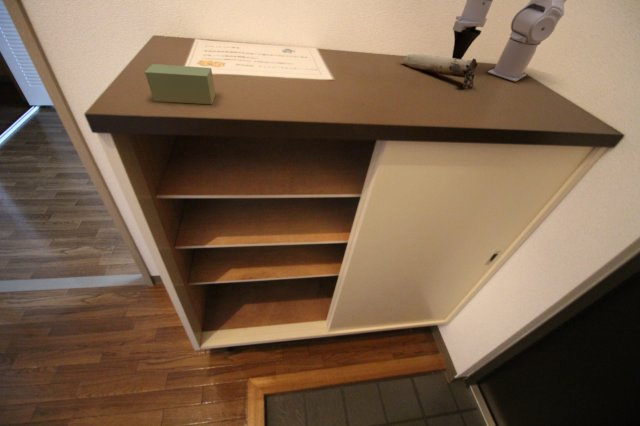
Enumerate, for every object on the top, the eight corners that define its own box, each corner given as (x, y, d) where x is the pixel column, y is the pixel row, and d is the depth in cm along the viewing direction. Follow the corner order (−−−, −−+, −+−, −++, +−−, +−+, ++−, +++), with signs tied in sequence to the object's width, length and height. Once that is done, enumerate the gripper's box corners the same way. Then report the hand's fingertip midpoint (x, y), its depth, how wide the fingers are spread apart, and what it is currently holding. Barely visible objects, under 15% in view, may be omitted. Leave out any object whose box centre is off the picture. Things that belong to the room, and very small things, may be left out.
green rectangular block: (160, 92, 53) (152, 63, 50) (215, 95, 55) (211, 67, 51) (153, 101, 51) (144, 71, 47) (211, 104, 52) (206, 76, 48)
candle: (461, 91, 69) (473, 63, 65) (401, 63, 80) (408, 38, 75) (474, 87, 72) (487, 60, 68) (415, 61, 83) (422, 36, 78)
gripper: (477, -6, 75) (455, 51, 84) (451, -5, 67) (430, 58, 76) (503, -1, 71) (477, 58, 81) (480, 1, 64) (454, 66, 73)
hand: (456, 59), depth 78 cm, fingers closed
